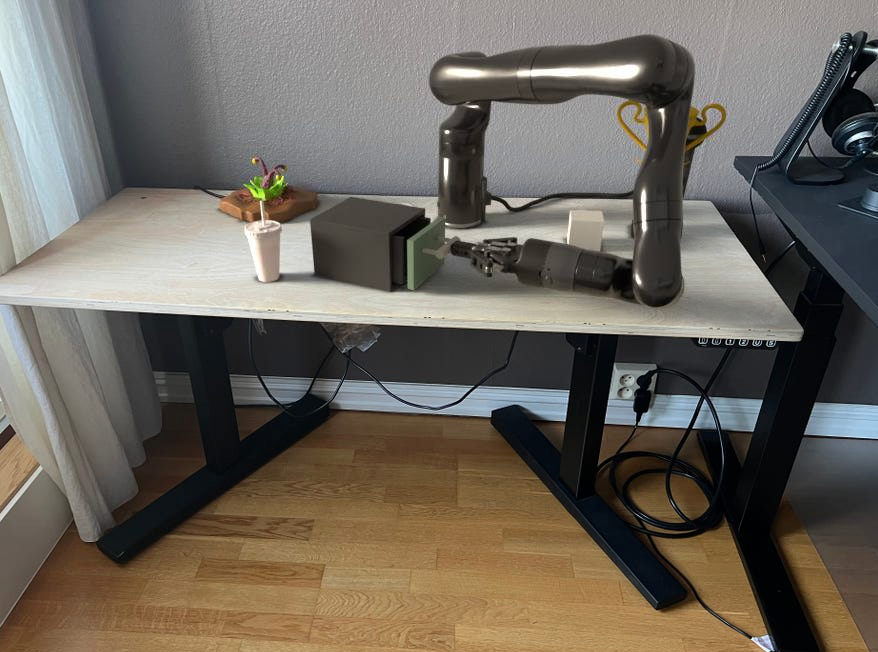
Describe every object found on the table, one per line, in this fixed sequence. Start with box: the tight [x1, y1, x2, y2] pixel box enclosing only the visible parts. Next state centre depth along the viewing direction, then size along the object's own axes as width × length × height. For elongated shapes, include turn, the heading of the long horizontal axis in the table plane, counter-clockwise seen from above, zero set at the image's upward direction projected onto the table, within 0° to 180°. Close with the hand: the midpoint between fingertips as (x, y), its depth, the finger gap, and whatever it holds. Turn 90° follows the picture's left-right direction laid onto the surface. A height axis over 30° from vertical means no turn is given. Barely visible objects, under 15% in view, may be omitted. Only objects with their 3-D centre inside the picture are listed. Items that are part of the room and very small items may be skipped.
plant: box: [218, 156, 319, 224], centre depth 159 cm, size 20×20×11 cm
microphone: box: [682, 116, 708, 198], centre depth 150 cm, size 7×7×20 cm
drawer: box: [391, 216, 462, 291], centre depth 125 cm, size 19×12×9 cm, turn 62°
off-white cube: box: [566, 209, 605, 251], centre depth 138 cm, size 6×6×6 cm
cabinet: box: [309, 196, 426, 292], centre depth 128 cm, size 16×14×11 cm
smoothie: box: [244, 200, 283, 283], centre depth 125 cm, size 6×6×14 cm
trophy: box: [616, 99, 727, 238], centre depth 137 cm, size 19×10×30 cm, turn 74°
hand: (452, 247), depth 121 cm, fingers closed
